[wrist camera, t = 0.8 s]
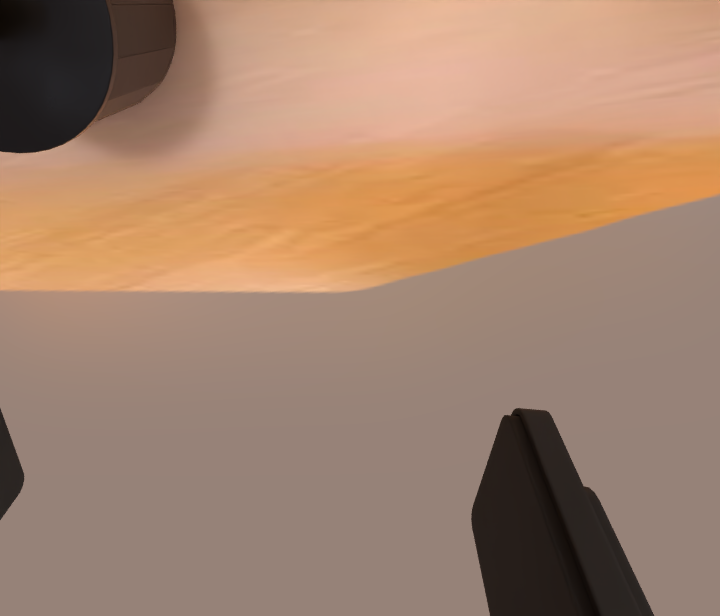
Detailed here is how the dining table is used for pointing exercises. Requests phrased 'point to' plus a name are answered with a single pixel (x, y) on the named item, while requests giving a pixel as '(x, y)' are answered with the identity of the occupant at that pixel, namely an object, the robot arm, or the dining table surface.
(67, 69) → the tin lid
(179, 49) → the dining table surface
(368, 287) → the dining table surface
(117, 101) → the tin
